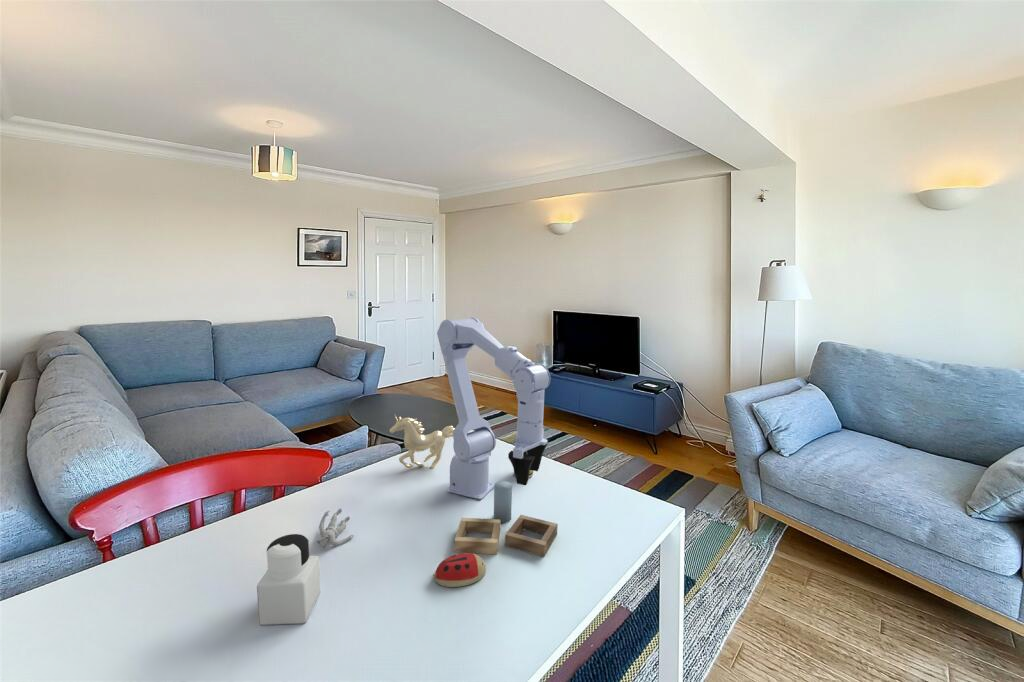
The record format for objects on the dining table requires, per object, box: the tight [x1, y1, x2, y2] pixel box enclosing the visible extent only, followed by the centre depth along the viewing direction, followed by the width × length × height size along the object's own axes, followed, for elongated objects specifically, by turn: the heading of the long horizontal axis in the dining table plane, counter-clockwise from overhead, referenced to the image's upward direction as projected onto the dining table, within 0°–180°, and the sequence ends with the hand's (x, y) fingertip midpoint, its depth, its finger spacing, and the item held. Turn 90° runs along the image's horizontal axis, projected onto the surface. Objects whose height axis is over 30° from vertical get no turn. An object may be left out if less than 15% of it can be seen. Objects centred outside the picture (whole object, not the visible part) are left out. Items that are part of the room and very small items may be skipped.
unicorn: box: [389, 413, 456, 469], centre depth 128 cm, size 20×4×17 cm, turn 121°
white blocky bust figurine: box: [256, 533, 321, 626], centre depth 74 cm, size 7×7×12 cm
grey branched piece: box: [315, 508, 355, 550], centre depth 94 cm, size 8×5×12 cm
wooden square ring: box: [504, 514, 558, 558], centre depth 95 cm, size 8×8×2 cm
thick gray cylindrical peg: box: [493, 480, 513, 524], centre depth 103 cm, size 4×4×8 cm
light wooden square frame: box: [453, 517, 501, 555], centre depth 95 cm, size 8×8×2 cm
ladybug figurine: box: [432, 552, 487, 588], centre depth 84 cm, size 7×10×4 cm
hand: (527, 476), depth 103 cm, fingers open, 7 cm apart
